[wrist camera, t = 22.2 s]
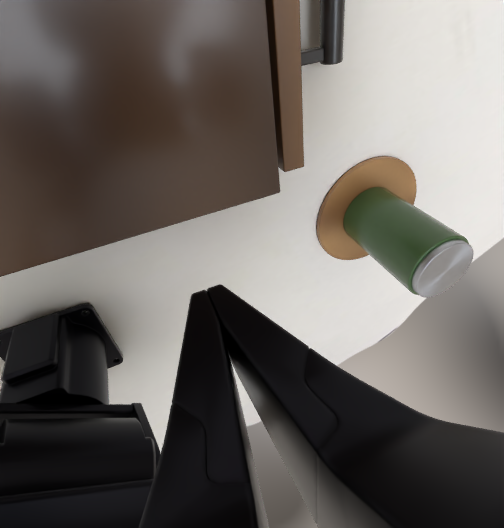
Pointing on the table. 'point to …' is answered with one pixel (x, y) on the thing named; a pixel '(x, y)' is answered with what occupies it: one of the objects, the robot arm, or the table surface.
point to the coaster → (348, 188)
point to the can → (407, 242)
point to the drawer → (297, 68)
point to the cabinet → (128, 119)
